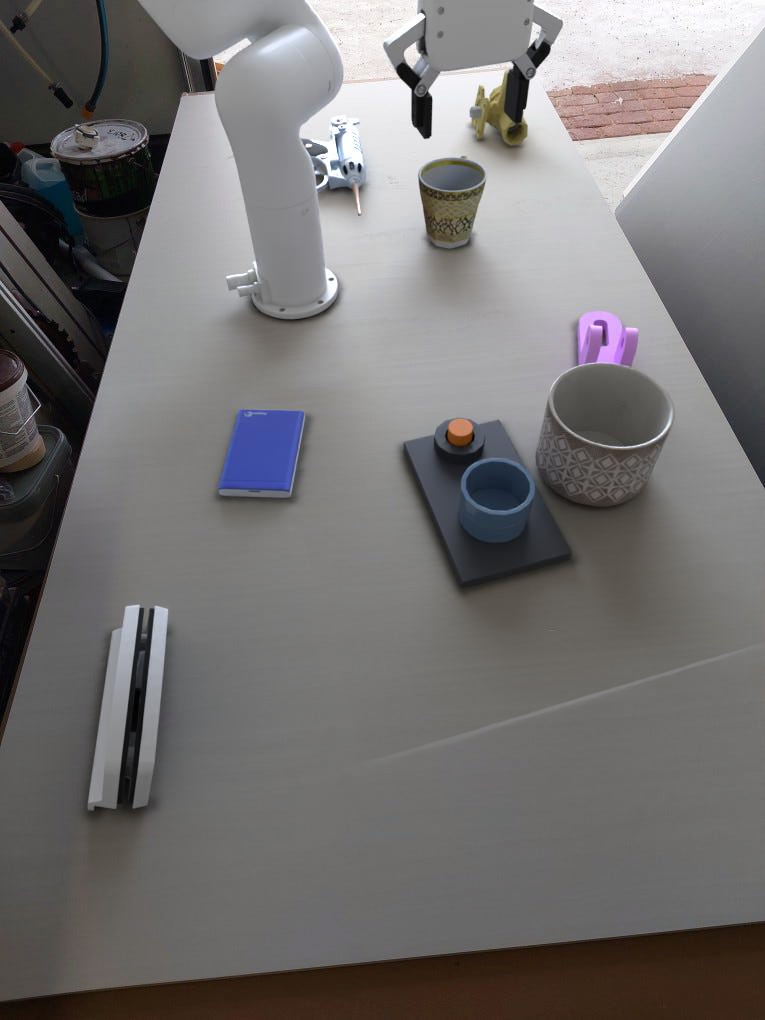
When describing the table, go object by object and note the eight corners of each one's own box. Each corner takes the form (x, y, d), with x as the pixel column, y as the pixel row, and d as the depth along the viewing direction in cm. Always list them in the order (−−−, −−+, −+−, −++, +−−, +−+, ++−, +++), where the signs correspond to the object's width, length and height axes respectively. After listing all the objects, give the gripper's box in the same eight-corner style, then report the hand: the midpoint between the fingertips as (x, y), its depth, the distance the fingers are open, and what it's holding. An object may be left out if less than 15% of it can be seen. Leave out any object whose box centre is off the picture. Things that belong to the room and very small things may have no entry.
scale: (461, 589, 70) (463, 573, 68) (402, 447, 82) (402, 430, 80) (570, 559, 72) (575, 543, 69) (496, 425, 84) (499, 407, 81)
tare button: (452, 449, 78) (453, 438, 77) (444, 432, 80) (444, 421, 78) (475, 443, 78) (476, 433, 77) (466, 426, 80) (467, 416, 79)
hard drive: (238, 408, 85) (217, 487, 77) (304, 410, 84) (289, 489, 77) (240, 417, 86) (220, 496, 78) (305, 419, 85) (291, 498, 78)
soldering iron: (277, 149, 129) (361, 134, 128) (283, 244, 114) (378, 227, 113) (269, 118, 124) (356, 102, 123) (274, 213, 109) (373, 195, 108)
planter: (664, 503, 76) (696, 439, 68) (553, 520, 75) (572, 457, 67) (622, 422, 83) (645, 355, 75) (520, 436, 82) (533, 370, 74)
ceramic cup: (472, 259, 105) (477, 195, 97) (409, 248, 107) (409, 185, 99) (491, 214, 112) (498, 152, 104) (432, 205, 114) (434, 144, 106)
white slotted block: (112, 635, 68) (115, 582, 61) (162, 637, 69) (171, 586, 62) (87, 814, 58) (86, 777, 50) (146, 813, 59) (153, 776, 52)
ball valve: (509, 118, 134) (460, 115, 132) (525, 60, 125) (472, 56, 124) (525, 153, 127) (473, 150, 125) (542, 94, 119) (486, 90, 117)
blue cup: (472, 550, 71) (476, 522, 67) (448, 497, 76) (451, 467, 72) (539, 533, 72) (546, 504, 68) (511, 481, 77) (517, 451, 73)
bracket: (624, 385, 87) (639, 341, 82) (579, 382, 88) (591, 338, 82) (618, 320, 95) (631, 276, 89) (576, 318, 96) (587, 274, 90)
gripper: (560, -115, 60) (532, 97, 74) (369, -93, 58) (376, 122, 71) (600, -93, 56) (562, 128, 69) (395, -68, 53) (397, 156, 67)
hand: (468, 125), depth 70 cm, fingers open, 9 cm apart
